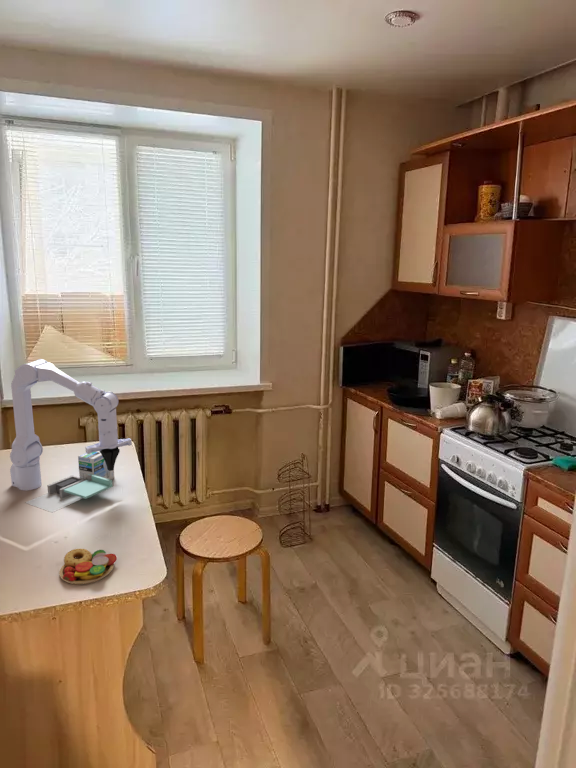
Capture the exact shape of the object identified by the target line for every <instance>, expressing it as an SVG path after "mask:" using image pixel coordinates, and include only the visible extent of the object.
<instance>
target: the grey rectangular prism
mask: <svg viewBox="0 0 576 768" xmlns="http://www.w3.org/2000/svg"><path fill="white" fill-rule="evenodd" d="M75 482H77V480H75V479H69V480H67V481H64V482H62V483H59V484H57V485H56V487H57V493H58V494H60V491H59V489H61V488H63V487H66V486H68V485H70V484H73V483H75Z"/></svg>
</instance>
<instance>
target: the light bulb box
mask: <svg viewBox="0 0 576 768" xmlns="http://www.w3.org/2000/svg"><path fill="white" fill-rule="evenodd" d="M77 460H78V472H79V473H78V475H79V478H82V479H85V480H87V475H88V474H93V475H96V476H100V477H103V478H106V479H110V480H113V479H115V469H114V470H112V471H109V470H108V469H107V465H106V462H105V460H104V458H103V456H102V454H101V453H100V451H97V452H92V453H91V454H87V453H86V452H85V453H82V454H80V455H78V456H77Z"/></svg>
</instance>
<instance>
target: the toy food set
mask: <svg viewBox="0 0 576 768" xmlns="http://www.w3.org/2000/svg"><path fill="white" fill-rule="evenodd" d="M117 560H118V557H117V555H116V554H115V553H107V552H106V551H105V549H97V550H96V551H94V552H93V553H91V551H90V550H88V549H85V548H75V549H72V550H69V551H68V552H67V553H66V554H65V555H64V557H63V565H62V566H61V567H60V569H59V572H58V574H59V578H60V579H62V581H64V582H66V583H69V584H71V585H76V586H78V585H81V586H82V585H89V584H93V583H95V582H98V581H100V580H103V579H104V578H105V577H106V576H108V575H109V574H110V573H111V572H112V571H113V569H114V567H115V563H116V562H117Z"/></svg>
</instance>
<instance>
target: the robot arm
mask: <svg viewBox="0 0 576 768" xmlns="http://www.w3.org/2000/svg"><path fill="white" fill-rule="evenodd" d="M40 382H42V383H43V382H53V383H55V384H58V386H59V385H60V386H62V387H64V388H65V389H68V390H70V391H73V394H74V396H75V397H76V398H77V399H79V400H81V401H83V402H85V403H86V404H88V405H90V406H92V407H93V409H94V411H95V412H96V413H97V421H98V422H97V423H98V426H97V427H98V437H99V438H98V441H99V442H97V443H94V444H92V445H91V444H90V445H88V446H85V447H84V448H85V453H87V454H91V453H92V452H97V451H100V453H101V454H102V456H103V458H104V460H105V462H106V465H107V469H108V470H109V471H112V470H114V471H115V464H116V462H117V458H118V456H119V454H120V452H121V451H120V447H126V446H133V443H132V439H131V438H129V437H128V438H120V439H119V438H118V437H119V435H118V433H119V432H118V420H117V419H118V418H117V407H118V405H119V398H118V395H116V394H115V393H114V392H113V391H106V390H105V389H103V388H102V389H100V388H99V387H97V386H95V385H93V382H90V381H85V380H84V381H78V380H77V379H75V378H73V377H72V376H70V375H68V374H67V373H65V372H64V371H62V370H61V369H59V368H58V367H56V366H55V365H54V363H51V362H48V361H47V360H45V359H43V358H38V359H36V360H34V361H31V362H27V363H23V364H21V365H20V366H18V367H17V368H16V369H15V370H14V376H13V379H12V381H11V386H10V387H11V396H12V406H13V417H14V427H15V434H16V435H15V438H14V440H13V442H12V443H11V451H10V452H9V458H10V461H11V462H12V464H11V465H10V466H11V467H10V469H9V470H10V471H9V472H10V481H11V482H10V483H11V486H12V487H15V488H17V489H18V490H20V491H32V490H36V489H38V488H40V487H41V486H42V474H41V472H42V471H41V463H40V462H41V461H40V460H41V455H43V450H44V448H43V445H42V443H41V441H40V437H39V435H37V434H35V433H36V432H35V425H34V414H33V402H32V401H33V400H32V394H31V393H32V391H31V390H32V389H31V388H33V386H35V385H36V384H37V383H40Z"/></svg>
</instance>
